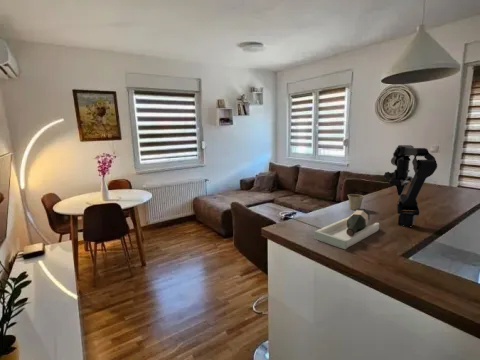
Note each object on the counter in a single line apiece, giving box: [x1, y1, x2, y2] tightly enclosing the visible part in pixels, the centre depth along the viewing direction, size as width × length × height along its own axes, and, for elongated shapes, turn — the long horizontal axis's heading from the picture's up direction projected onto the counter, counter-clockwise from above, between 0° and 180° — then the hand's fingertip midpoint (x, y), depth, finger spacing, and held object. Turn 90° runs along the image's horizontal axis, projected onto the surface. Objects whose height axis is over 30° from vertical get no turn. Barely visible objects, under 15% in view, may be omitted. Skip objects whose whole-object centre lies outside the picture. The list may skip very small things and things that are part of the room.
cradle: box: [313, 216, 380, 250], centre depth 129 cm, size 15×34×4 cm, turn 131°
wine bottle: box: [346, 208, 370, 236], centre depth 129 cm, size 8×8×30 cm
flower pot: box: [347, 193, 365, 211], centre depth 169 cm, size 9×9×9 cm
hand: (399, 195), depth 151 cm, fingers closed
